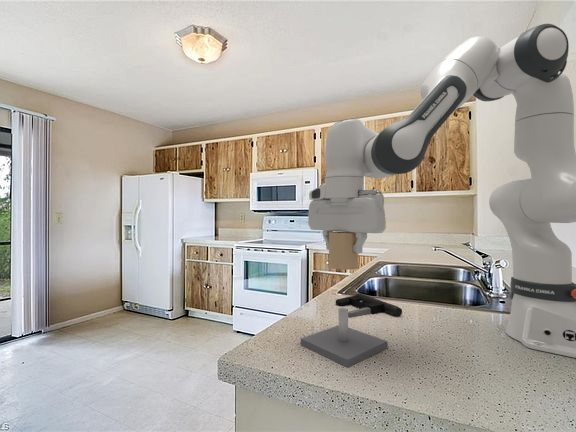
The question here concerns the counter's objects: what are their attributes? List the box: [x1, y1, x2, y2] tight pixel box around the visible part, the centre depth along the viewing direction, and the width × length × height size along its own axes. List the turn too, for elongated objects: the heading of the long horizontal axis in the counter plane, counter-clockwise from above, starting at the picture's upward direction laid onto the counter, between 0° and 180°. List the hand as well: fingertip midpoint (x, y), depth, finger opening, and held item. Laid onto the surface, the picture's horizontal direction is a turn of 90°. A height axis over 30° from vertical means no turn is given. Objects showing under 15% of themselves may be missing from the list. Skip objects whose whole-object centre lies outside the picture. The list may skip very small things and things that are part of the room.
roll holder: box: [300, 307, 389, 368], centre depth 71 cm, size 14×14×8 cm
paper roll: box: [328, 231, 359, 271], centre depth 71 cm, size 6×6×8 cm
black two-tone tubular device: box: [335, 292, 403, 318], centre depth 98 cm, size 3×20×16 cm
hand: (343, 251), depth 71 cm, fingers closed on paper roll, 6 cm apart
